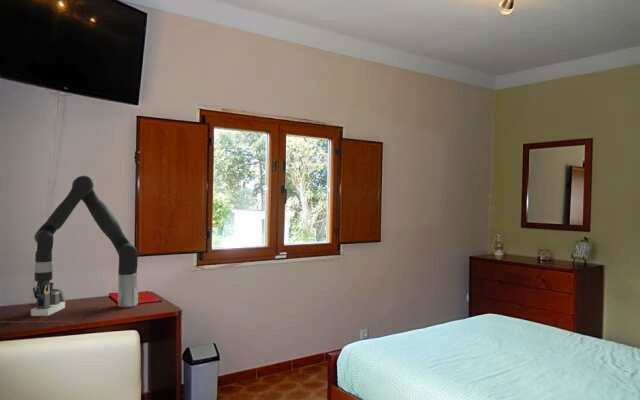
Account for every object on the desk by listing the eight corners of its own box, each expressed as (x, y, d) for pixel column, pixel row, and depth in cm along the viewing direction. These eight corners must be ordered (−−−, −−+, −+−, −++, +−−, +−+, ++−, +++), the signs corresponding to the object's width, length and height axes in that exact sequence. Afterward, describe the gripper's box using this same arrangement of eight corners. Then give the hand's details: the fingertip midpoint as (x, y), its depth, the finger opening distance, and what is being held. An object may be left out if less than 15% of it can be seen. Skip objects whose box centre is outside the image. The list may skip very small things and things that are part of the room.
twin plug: (59, 308, 232) (59, 290, 232) (55, 310, 228) (55, 292, 228) (51, 308, 232) (51, 291, 232) (46, 310, 228) (47, 292, 227)
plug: (49, 308, 223) (49, 290, 223) (45, 311, 219) (45, 292, 219) (41, 309, 223) (41, 290, 223) (36, 311, 218) (36, 292, 218)
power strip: (64, 309, 233) (64, 301, 233) (47, 317, 217) (47, 309, 217) (48, 309, 233) (49, 301, 233) (30, 317, 217) (30, 309, 217)
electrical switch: (66, 305, 243) (65, 288, 242) (56, 308, 238) (55, 291, 238) (57, 303, 248) (56, 286, 247) (47, 305, 244) (46, 289, 243)
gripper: (43, 273, 214) (43, 309, 214) (59, 268, 228) (58, 302, 228) (27, 273, 213) (26, 309, 213) (43, 268, 227) (43, 302, 228)
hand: (43, 305), depth 221 cm, fingers closed on plug, 4 cm apart
